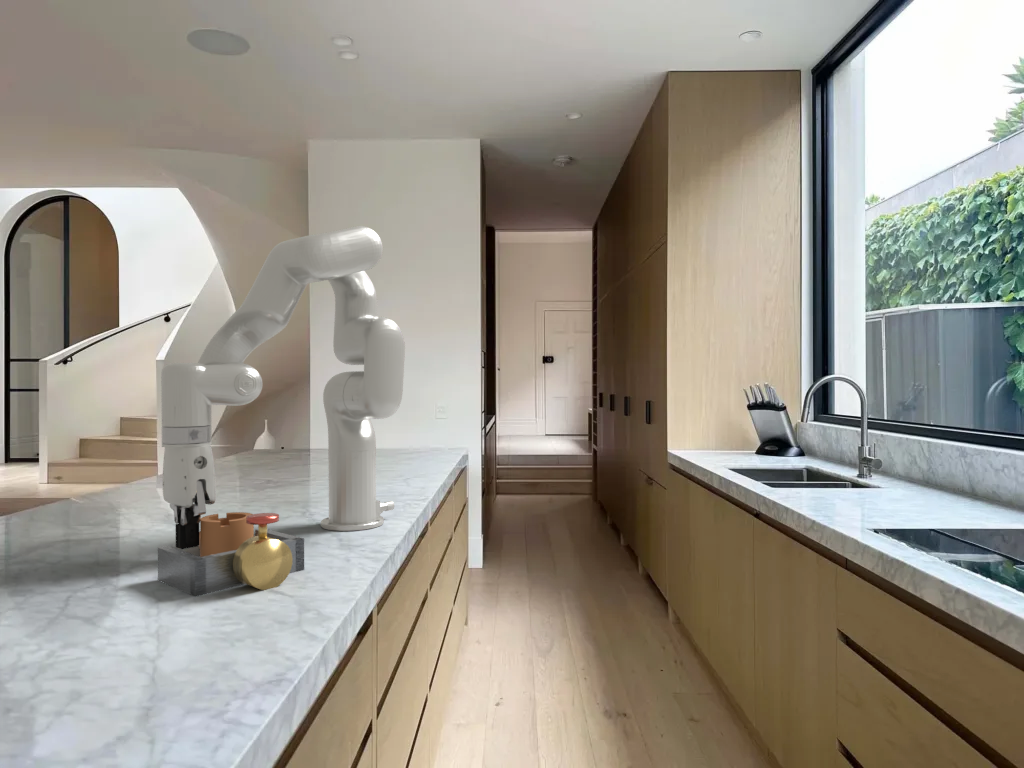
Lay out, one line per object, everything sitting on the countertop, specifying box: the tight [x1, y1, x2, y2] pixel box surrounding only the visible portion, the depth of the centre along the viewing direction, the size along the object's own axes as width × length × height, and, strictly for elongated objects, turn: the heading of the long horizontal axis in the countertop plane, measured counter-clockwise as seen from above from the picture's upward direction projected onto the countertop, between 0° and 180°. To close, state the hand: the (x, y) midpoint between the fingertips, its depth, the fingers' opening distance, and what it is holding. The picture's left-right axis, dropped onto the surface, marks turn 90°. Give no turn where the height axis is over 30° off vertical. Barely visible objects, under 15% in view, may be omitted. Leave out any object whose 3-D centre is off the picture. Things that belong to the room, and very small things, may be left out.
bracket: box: [198, 511, 255, 557], centre depth 119 cm, size 18×8×7 cm, turn 26°
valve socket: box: [157, 512, 305, 598], centre depth 101 cm, size 17×17×10 cm
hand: (187, 546), depth 113 cm, fingers closed
